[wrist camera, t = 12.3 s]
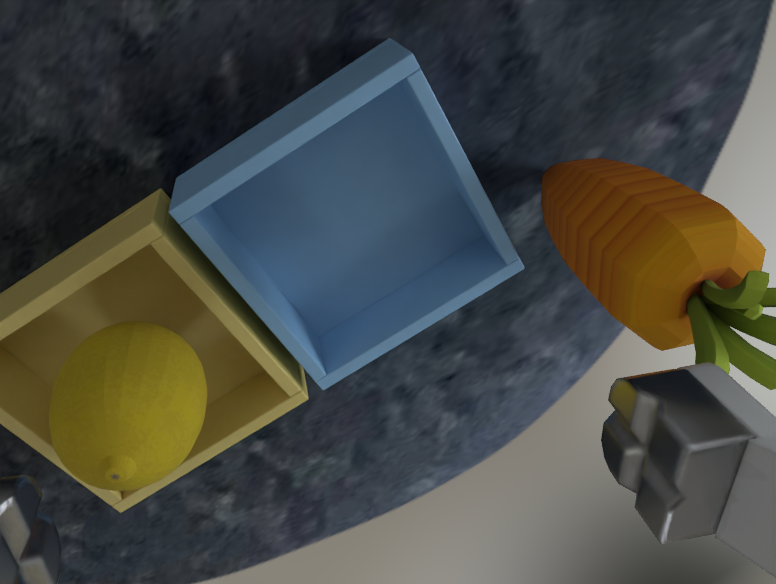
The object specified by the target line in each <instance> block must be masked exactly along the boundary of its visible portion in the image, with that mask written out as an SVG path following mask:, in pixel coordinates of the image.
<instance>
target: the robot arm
mask: <svg viewBox="0 0 776 584" xmlns="http://www.w3.org/2000/svg"><path fill="white" fill-rule="evenodd" d="M608 400H609V402H610V403H611V404H612V406H613V407H614V409H615V411H614V412H613V413H612V414H611V415H610V416H609V418H608V419H607V420H606V421H605V422H604V425H603V431H602V439H601V441H602V447H603V452H604V458H605V460H606V463H607V465H608V467H609V470H610V472H611V473H612V475H613V476H614V478H615V479H616V481H617V482H618V484H620V485H622V486H623V487H625V488H627V489H629V490H631V491H633V492H635V493H636V500H635V508H636V510H637V511H638V513H639V514H640V515H641V517H642V518H643V520H644V521H645V522H646V524H647V525H648V527H649V528H650V530H651V531H652V533H653V534H654V535H655V537H656V538H657V540H658V541H659V543H660V544H662V543H668V542H673V541H679V540H684V539H690V538H695V537H701V536H706V535H712V534H716V535H715V538H717V539H719V540H720V541H721V542H723V543H725V544H726V545H727V546H729V547H730V548H732V549H733V550H735V551H736V552H738V553H739V554H741V555H742V556H744V557H745V558H747V559H748V560H750V561H751V562H753V563H754V564H756V565H757V566H759V567H760V568H762V569H763V570H765V571H766V572H768V573H769V574H771V575H772V576H774V577H775V578H776V417H775V416H774V415H773V414H771V413H770V412H769V411H768V410H767V409H766V408H765V407H764V406H762V405H761V404H760V403H759V402H758V401H757V400H756V399H755V398H754V397H752V396H751V395H750V394H749V393H748V392H747V391H746V390H745V389H744V388H743V387H742V386H740V385H739V384H738V383H737V382H736V381H735V380H734V379H733V378H732V377H730V376H729V375H728V374H727V373H726V372H725V371H724V370H723V369H722V368H721V367H719V366H717V365H715V364H712V363H710V362H707V363H702V364H696V365H691V366H685V367H680V368H677V369H671V370H665V371H659V372H654V373H647V374H641V375H636V376H630V377H624V378H618V379H616V380H615V382H614V383H613V385H612V386H611V390H610V394H609V399H608ZM41 498H42V493H41V491H40V489H39V487H38V485H37V483H36V481H35V479H34V477H32V476H28V475H19V476H12V477H5V478H0V584H57V583H58V579H59V574H60V561H61V546H60V541H59V536H58V531H57V529H56V526H55V524H54V521H53V519H52V518H50V517H48V516H47V515H45V514H43V513H41V512H39V511H38V507H39V504H40V501H41Z"/></svg>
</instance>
